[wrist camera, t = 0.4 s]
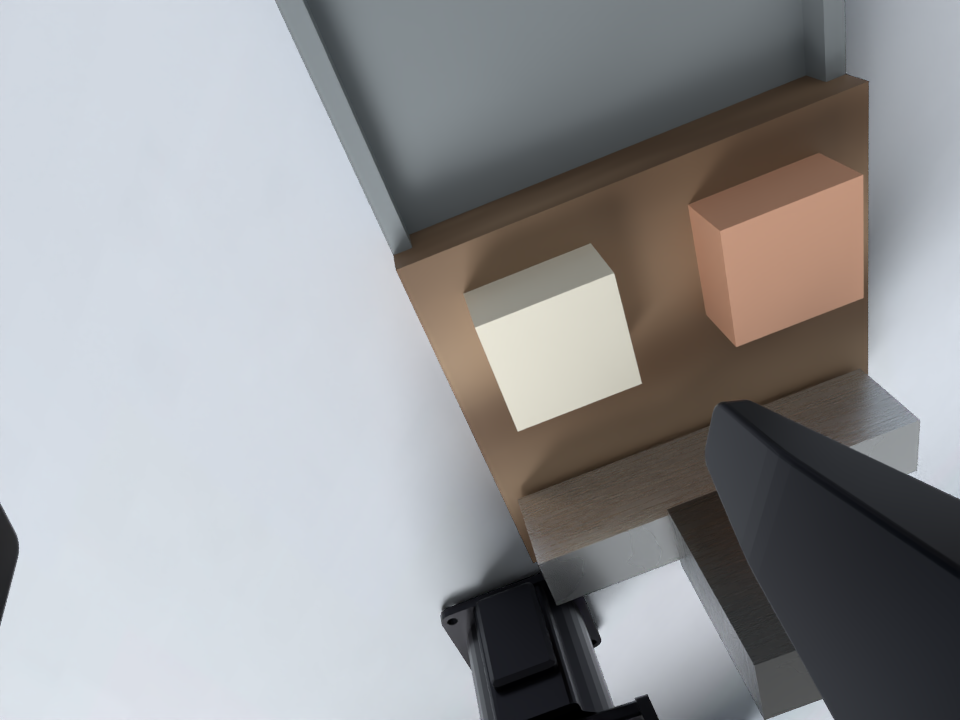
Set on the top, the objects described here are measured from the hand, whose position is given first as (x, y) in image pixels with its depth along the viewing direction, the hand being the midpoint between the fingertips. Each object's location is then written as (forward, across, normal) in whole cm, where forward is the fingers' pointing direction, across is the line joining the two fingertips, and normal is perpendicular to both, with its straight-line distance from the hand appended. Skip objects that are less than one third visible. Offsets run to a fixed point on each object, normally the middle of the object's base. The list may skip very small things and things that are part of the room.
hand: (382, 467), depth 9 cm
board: (+14, -10, +7) cm, 18 cm away
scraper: (+11, -11, +11) cm, 19 cm away
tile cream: (+11, -5, +4) cm, 13 cm away
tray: (+13, -6, -4) cm, 15 cm away
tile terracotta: (+11, -12, +2) cm, 16 cm away
